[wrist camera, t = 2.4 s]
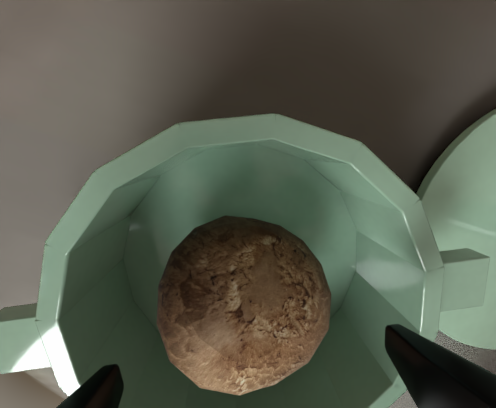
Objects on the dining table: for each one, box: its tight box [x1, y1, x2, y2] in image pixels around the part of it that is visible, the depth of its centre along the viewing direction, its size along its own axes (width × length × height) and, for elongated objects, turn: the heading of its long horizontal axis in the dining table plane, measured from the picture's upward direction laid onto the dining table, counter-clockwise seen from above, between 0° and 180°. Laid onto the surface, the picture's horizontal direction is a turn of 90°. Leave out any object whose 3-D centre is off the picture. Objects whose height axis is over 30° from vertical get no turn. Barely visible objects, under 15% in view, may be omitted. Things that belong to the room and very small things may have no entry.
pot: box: [0, 113, 490, 408], centre depth 11 cm, size 15×21×5 cm
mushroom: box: [157, 215, 331, 396], centre depth 11 cm, size 8×8×6 cm
